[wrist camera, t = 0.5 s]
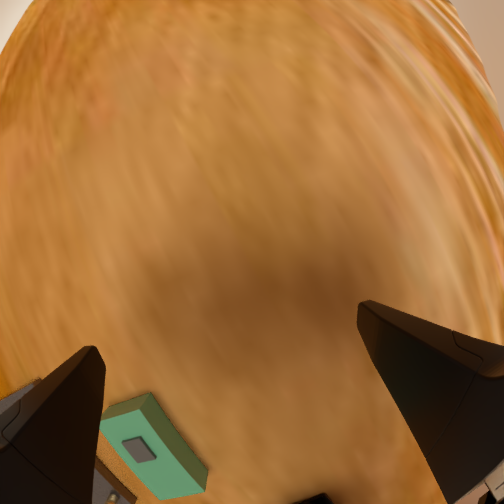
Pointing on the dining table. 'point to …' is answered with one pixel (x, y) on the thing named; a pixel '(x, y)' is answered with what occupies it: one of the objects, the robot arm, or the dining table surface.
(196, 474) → the board
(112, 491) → the chassis
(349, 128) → the dining table surface
